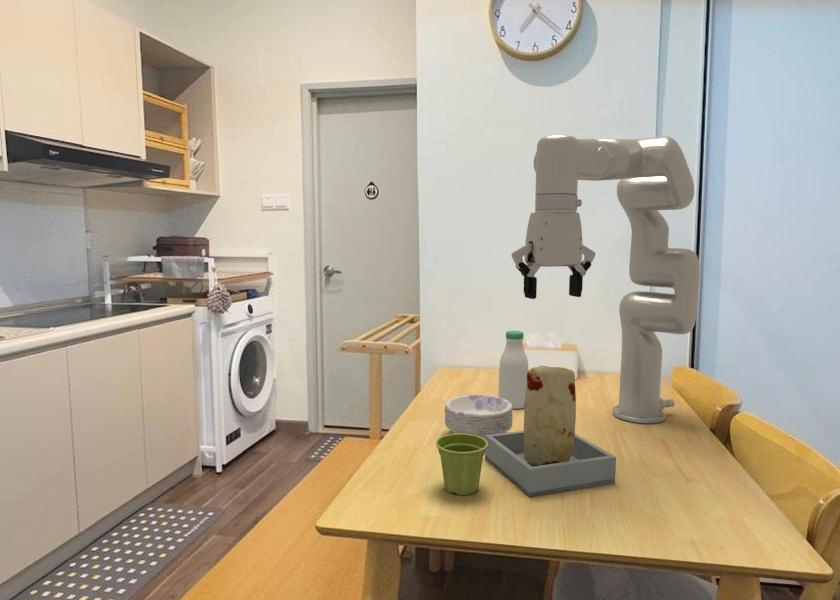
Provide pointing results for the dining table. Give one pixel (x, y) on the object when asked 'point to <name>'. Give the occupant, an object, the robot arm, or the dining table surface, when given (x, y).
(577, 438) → the bin
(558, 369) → the food model
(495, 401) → the paper bowls
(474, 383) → the dining table surface
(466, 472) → the plant pot
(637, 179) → the robot arm
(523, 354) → the milk bottle
